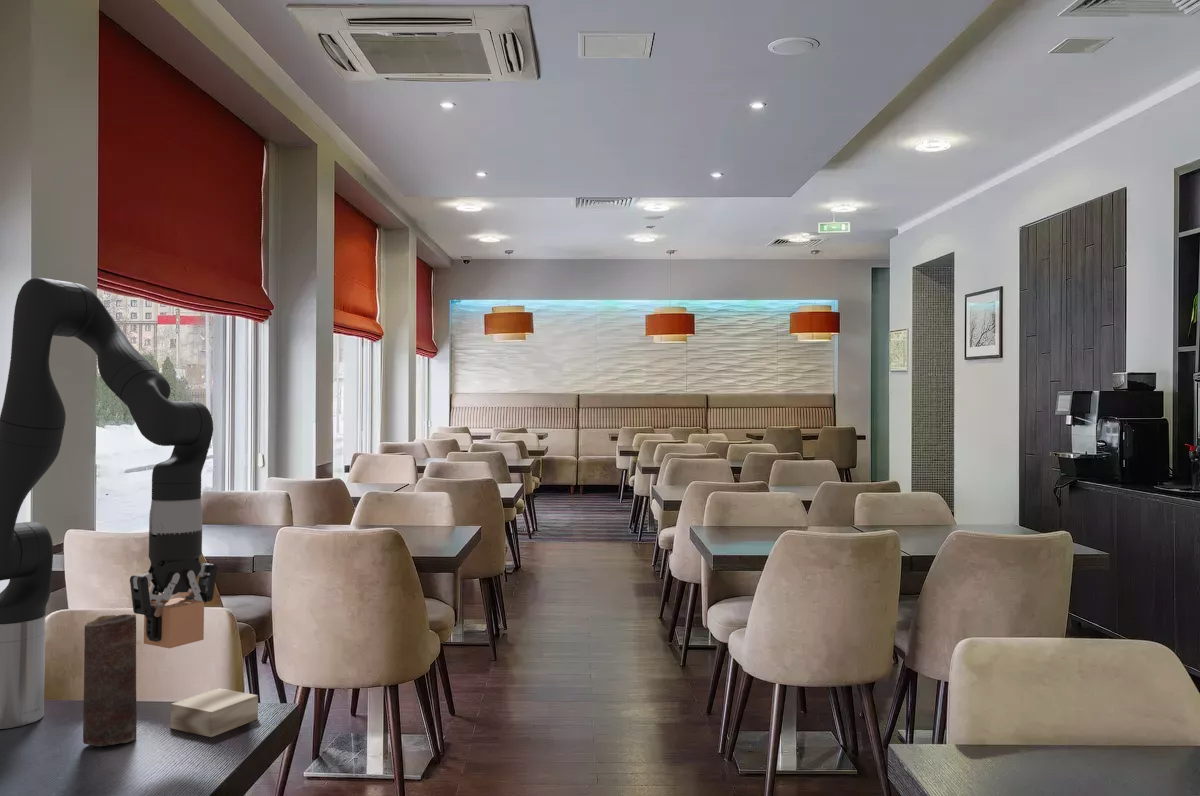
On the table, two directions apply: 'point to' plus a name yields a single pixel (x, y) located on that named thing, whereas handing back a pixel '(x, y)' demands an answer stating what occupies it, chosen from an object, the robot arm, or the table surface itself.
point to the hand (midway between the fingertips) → (174, 635)
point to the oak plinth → (214, 712)
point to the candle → (110, 681)
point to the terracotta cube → (180, 623)
